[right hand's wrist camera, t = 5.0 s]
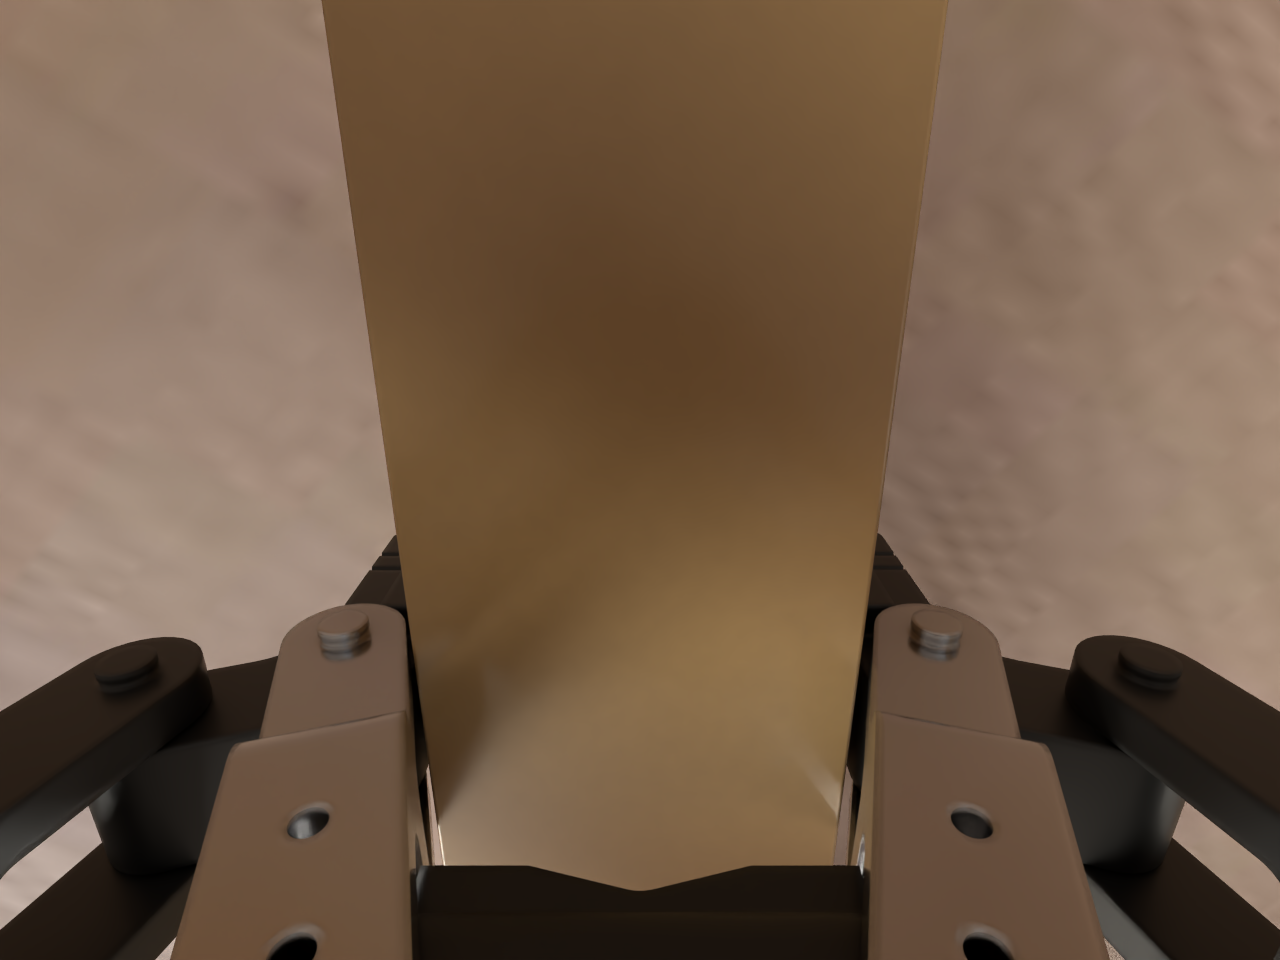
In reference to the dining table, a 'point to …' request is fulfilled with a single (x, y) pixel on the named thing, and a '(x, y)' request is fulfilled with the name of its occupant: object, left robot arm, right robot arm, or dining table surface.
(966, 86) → the dining table surface
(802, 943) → the right robot arm
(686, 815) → the bar
